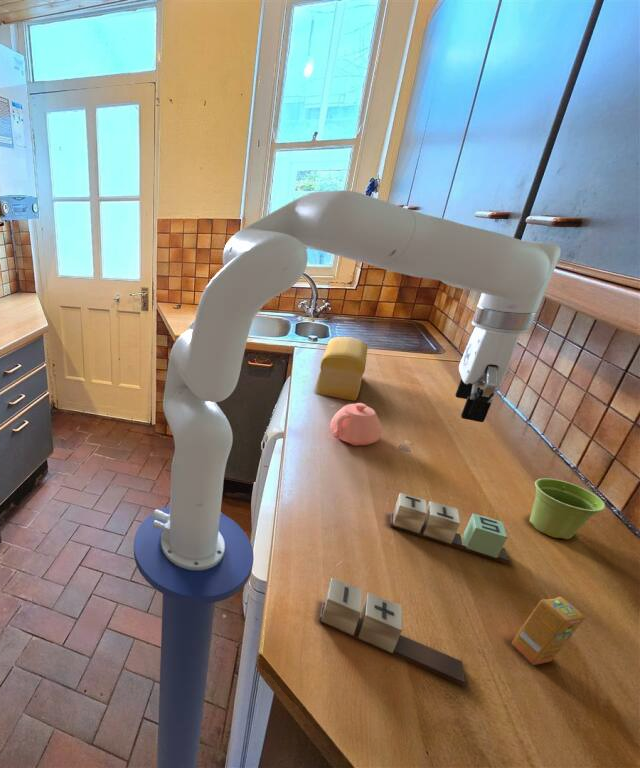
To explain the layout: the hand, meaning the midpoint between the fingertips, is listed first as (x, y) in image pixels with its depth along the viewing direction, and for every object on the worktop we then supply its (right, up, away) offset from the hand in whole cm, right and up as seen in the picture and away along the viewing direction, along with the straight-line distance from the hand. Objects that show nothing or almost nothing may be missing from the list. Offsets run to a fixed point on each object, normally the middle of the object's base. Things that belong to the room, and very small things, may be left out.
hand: (468, 408), depth 75 cm
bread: (+11, +4, +68) cm, 69 cm away
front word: (-25, -34, -15) cm, 45 cm away
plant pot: (+20, -24, +5) cm, 32 cm away
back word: (-2, -25, +3) cm, 26 cm away
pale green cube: (+2, -25, 0) cm, 26 cm away
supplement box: (-5, -35, -17) cm, 39 cm away
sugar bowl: (-2, -11, +36) cm, 38 cm away
